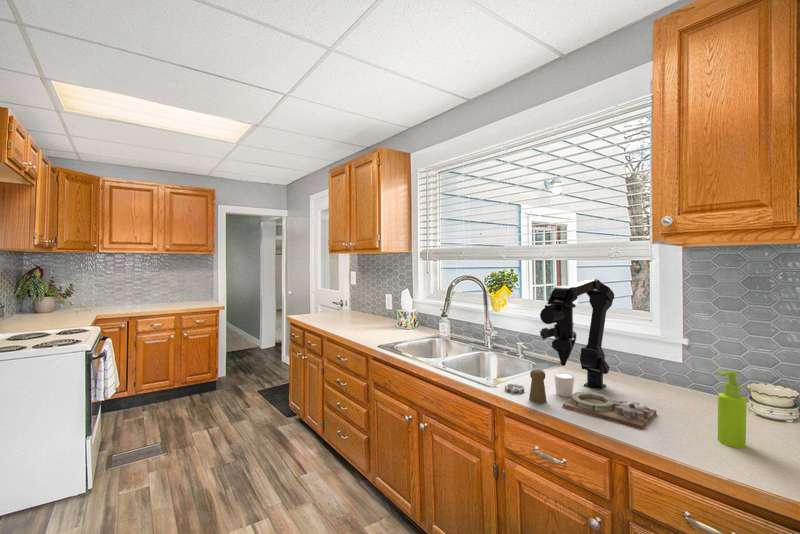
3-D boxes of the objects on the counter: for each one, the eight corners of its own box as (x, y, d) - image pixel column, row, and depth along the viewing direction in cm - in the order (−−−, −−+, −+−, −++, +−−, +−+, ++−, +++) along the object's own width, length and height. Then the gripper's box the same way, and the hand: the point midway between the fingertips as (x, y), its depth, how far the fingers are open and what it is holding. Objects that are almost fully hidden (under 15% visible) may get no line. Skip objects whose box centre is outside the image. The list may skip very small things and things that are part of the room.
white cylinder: (551, 394, 143) (551, 375, 143) (558, 389, 148) (558, 371, 148) (570, 398, 138) (570, 379, 138) (576, 393, 143) (576, 375, 143)
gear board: (580, 395, 142) (581, 384, 142) (656, 414, 124) (656, 402, 124) (562, 407, 131) (562, 395, 131) (642, 429, 113) (642, 416, 113)
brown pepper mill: (548, 404, 134) (548, 373, 133) (530, 402, 135) (530, 372, 135) (545, 397, 140) (545, 368, 139) (527, 396, 141) (527, 367, 141)
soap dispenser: (708, 438, 108) (709, 368, 107) (731, 437, 108) (731, 367, 108) (728, 448, 102) (729, 375, 101) (751, 447, 102) (752, 374, 102)
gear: (507, 386, 152) (506, 382, 152) (525, 389, 149) (525, 385, 149) (503, 392, 146) (503, 388, 146) (522, 395, 143) (522, 391, 142)
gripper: (545, 315, 152) (546, 353, 152) (536, 323, 136) (537, 366, 136) (576, 316, 146) (576, 356, 147) (570, 325, 130) (571, 370, 131)
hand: (565, 362), depth 140 cm, fingers open, 9 cm apart
